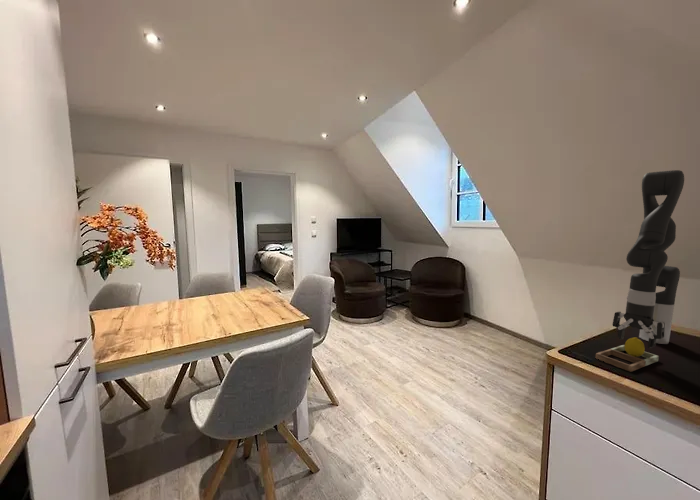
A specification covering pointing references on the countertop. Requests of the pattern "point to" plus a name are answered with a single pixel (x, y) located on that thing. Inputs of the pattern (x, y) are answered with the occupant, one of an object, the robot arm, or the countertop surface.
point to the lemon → (634, 347)
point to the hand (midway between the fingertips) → (635, 343)
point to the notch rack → (626, 358)
